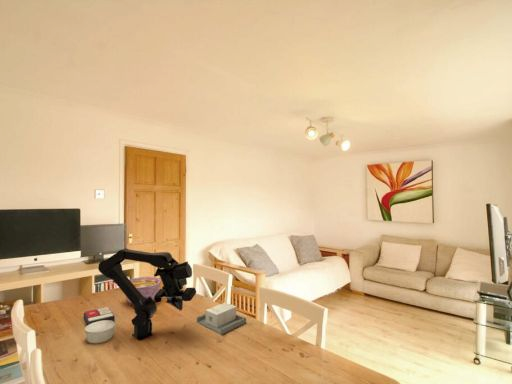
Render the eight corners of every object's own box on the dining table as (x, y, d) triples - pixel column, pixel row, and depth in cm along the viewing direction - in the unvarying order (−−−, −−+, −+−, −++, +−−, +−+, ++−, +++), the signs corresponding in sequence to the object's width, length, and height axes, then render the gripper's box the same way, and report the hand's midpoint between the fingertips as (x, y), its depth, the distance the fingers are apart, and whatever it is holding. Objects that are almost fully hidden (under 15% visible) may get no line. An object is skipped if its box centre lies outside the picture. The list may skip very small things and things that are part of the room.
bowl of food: (114, 305, 152) (114, 284, 152) (141, 294, 171) (142, 275, 171) (141, 312, 144) (142, 289, 145) (168, 299, 163) (168, 279, 163)
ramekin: (120, 336, 119) (120, 324, 119) (92, 348, 110) (93, 334, 110) (106, 329, 125) (107, 317, 126) (79, 339, 116) (80, 326, 116)
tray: (222, 335, 122) (222, 329, 122) (196, 322, 134) (196, 317, 134) (245, 323, 133) (246, 318, 133) (220, 312, 145) (220, 307, 145)
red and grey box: (108, 305, 144) (114, 314, 132) (108, 314, 143) (114, 323, 131) (83, 311, 137) (87, 320, 125) (83, 320, 137) (87, 330, 125)
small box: (216, 328, 127) (236, 319, 136) (216, 314, 127) (236, 306, 137) (205, 323, 132) (225, 314, 142) (205, 309, 132) (225, 301, 142)
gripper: (196, 268, 125) (206, 297, 129) (162, 270, 131) (173, 297, 135) (184, 284, 115) (196, 314, 119) (147, 286, 121) (160, 315, 125)
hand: (181, 309), depth 125 cm, fingers closed
